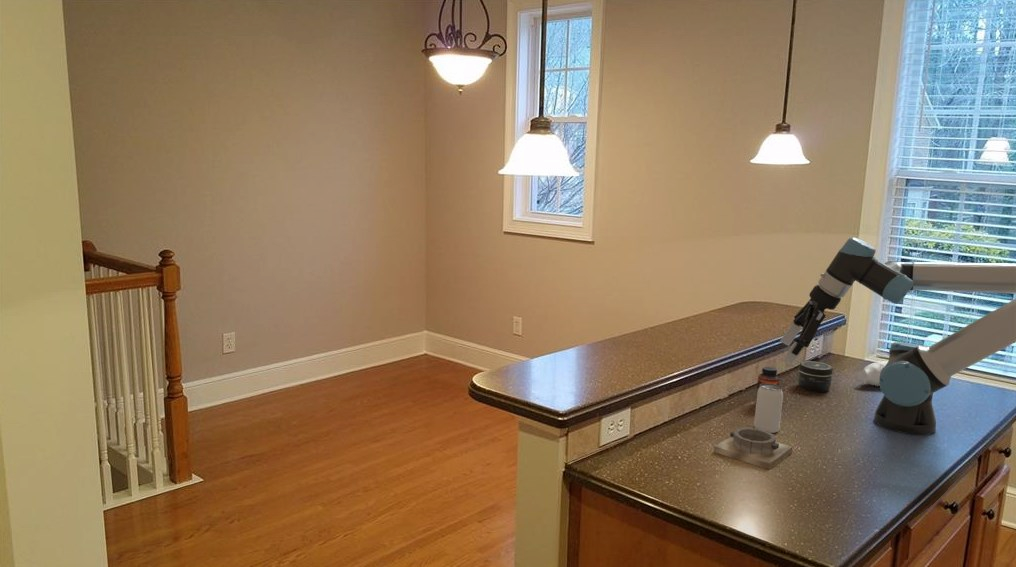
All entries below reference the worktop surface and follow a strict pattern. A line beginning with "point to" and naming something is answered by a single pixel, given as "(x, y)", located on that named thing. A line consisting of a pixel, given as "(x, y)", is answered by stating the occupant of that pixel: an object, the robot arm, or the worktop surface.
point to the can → (768, 407)
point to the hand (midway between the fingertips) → (785, 352)
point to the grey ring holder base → (753, 447)
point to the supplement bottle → (767, 377)
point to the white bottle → (872, 373)
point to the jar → (815, 376)
